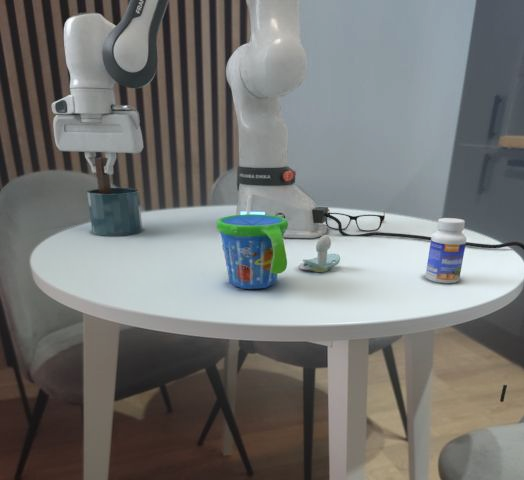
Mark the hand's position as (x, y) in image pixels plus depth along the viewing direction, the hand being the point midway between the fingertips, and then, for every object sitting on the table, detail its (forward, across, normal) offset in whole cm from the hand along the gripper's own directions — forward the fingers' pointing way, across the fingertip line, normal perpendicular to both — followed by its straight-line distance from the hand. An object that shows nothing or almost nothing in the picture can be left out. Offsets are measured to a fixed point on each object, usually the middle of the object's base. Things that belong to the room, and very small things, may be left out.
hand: (102, 174), depth 110 cm
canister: (+12, -2, -1) cm, 13 cm away
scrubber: (+9, 0, 0) cm, 9 cm away
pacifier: (+13, -53, +15) cm, 56 cm away
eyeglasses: (+13, -53, -27) cm, 61 cm away
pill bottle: (+13, -74, +14) cm, 76 cm away
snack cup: (+13, -45, +27) cm, 54 cm away
